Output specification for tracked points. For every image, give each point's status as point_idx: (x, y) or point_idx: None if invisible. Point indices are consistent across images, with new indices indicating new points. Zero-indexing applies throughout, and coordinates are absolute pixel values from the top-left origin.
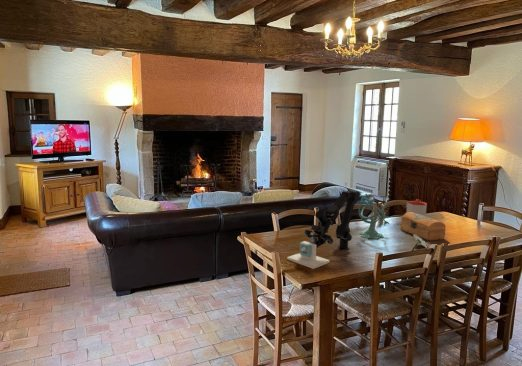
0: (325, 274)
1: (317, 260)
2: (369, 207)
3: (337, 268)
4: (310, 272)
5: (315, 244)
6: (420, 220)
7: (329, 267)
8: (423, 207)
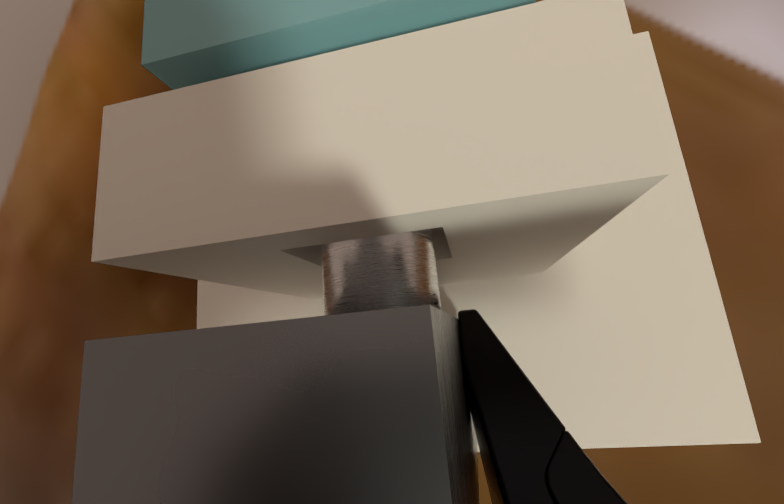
0: (76, 153)
1: (288, 306)
2: None
3: (68, 372)
4: None
5: (120, 247)
6: None
7: (136, 320)
8: None
